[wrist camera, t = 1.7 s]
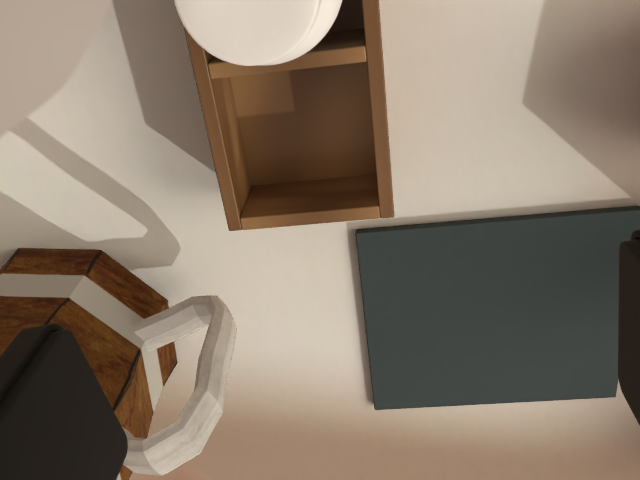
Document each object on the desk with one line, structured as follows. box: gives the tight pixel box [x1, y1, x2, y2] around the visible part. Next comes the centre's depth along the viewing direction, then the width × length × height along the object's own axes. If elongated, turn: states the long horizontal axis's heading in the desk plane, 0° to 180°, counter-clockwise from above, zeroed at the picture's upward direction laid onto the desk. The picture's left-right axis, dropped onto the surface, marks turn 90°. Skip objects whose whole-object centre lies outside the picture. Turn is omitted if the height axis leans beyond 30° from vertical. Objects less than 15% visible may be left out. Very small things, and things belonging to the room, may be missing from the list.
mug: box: [0, 249, 237, 480], centre depth 33 cm, size 20×14×15 cm
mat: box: [356, 206, 640, 410], centre depth 38 cm, size 16×14×1 cm
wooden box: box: [183, 0, 394, 231], centre depth 29 cm, size 8×16×5 cm, turn 7°
